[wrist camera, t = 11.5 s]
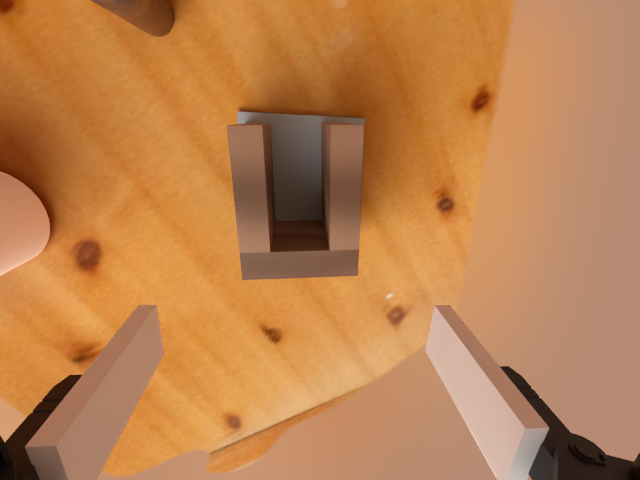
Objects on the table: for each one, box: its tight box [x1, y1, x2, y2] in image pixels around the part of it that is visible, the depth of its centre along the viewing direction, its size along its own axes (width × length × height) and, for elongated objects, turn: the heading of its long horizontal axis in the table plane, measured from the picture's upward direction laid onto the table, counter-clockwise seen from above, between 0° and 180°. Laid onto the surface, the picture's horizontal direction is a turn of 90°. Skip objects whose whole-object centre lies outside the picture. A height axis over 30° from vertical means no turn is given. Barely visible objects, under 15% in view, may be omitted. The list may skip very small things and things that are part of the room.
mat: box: [237, 111, 365, 221], centre depth 27 cm, size 12×10×1 cm
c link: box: [227, 123, 364, 280], centre depth 24 cm, size 10×8×7 cm
